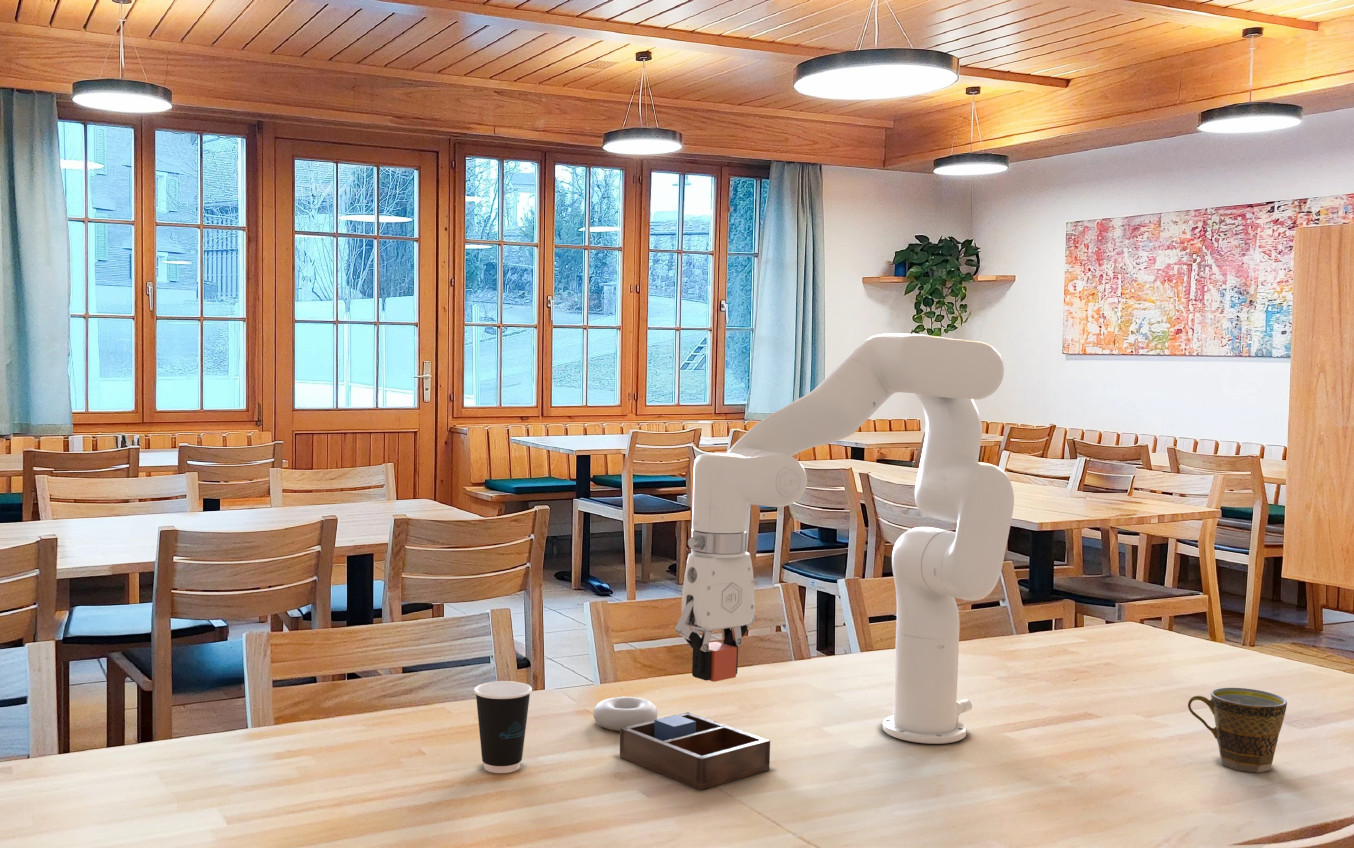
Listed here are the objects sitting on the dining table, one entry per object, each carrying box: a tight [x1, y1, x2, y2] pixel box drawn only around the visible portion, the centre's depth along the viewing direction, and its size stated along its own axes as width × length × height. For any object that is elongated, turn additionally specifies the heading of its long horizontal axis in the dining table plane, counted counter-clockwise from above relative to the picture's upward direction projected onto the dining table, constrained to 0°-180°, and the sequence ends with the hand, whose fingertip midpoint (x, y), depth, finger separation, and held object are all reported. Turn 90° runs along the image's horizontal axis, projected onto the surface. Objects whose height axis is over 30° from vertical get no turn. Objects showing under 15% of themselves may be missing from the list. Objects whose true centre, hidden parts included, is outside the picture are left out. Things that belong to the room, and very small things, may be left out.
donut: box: [592, 696, 659, 732], centre depth 192 cm, size 10×4×10 cm
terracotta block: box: [708, 641, 737, 683], centre depth 171 cm, size 4×4×4 cm
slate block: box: [654, 714, 696, 741], centre depth 177 cm, size 4×4×4 cm
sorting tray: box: [619, 711, 771, 791], centre depth 174 cm, size 13×17×4 cm
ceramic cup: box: [1187, 687, 1288, 773], centre depth 180 cm, size 13×10×10 cm
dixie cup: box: [473, 680, 533, 774], centre depth 171 cm, size 8×8×11 cm
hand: (714, 674), depth 171 cm, fingers closed on terracotta block, 4 cm apart
